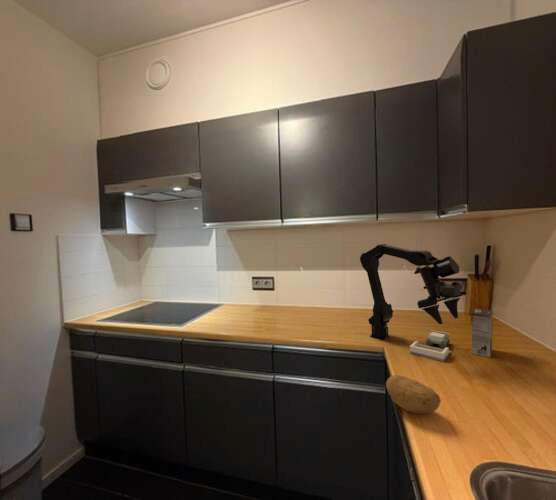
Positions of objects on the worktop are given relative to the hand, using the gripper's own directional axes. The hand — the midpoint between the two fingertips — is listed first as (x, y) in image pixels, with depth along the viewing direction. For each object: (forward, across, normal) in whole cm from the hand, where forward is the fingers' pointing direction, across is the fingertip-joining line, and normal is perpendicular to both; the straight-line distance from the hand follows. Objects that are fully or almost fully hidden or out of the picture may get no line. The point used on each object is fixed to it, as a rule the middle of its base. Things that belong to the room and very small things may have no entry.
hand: (449, 321), depth 109 cm
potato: (+17, -39, -9) cm, 44 cm away
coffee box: (+15, +15, +4) cm, 22 cm away
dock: (+10, -2, +12) cm, 16 cm away
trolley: (+10, +7, +15) cm, 19 cm away
